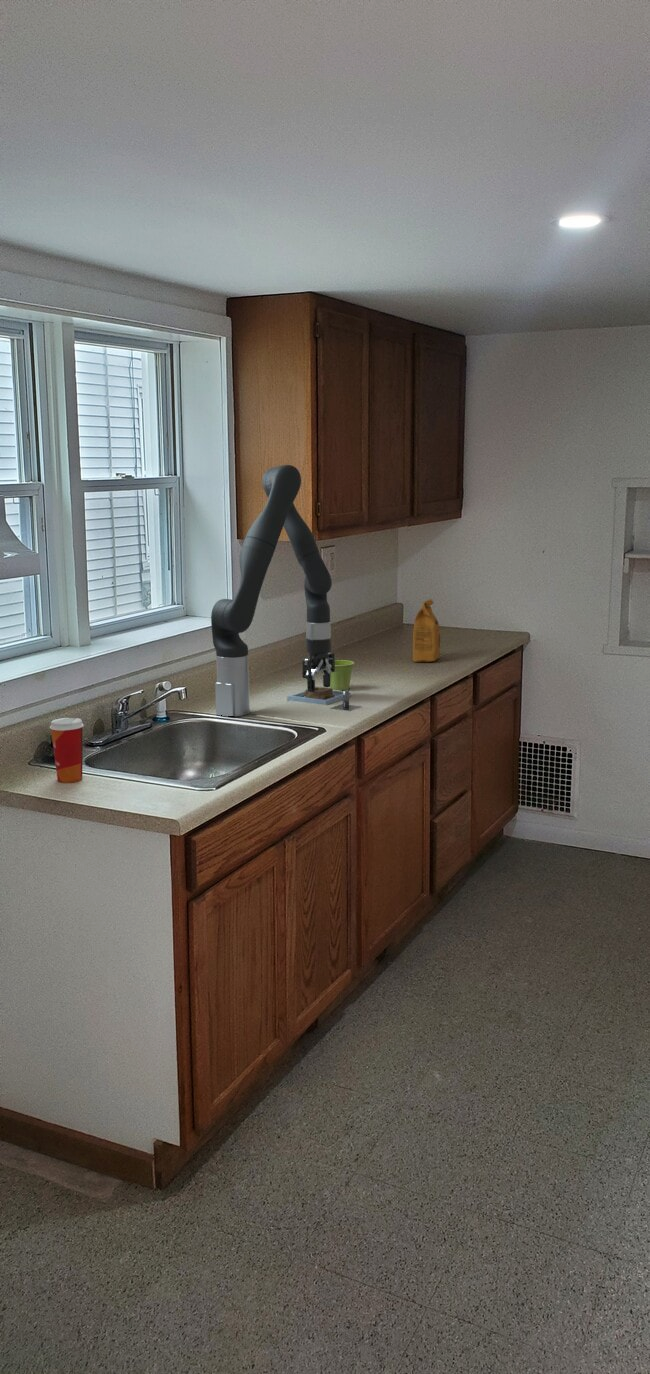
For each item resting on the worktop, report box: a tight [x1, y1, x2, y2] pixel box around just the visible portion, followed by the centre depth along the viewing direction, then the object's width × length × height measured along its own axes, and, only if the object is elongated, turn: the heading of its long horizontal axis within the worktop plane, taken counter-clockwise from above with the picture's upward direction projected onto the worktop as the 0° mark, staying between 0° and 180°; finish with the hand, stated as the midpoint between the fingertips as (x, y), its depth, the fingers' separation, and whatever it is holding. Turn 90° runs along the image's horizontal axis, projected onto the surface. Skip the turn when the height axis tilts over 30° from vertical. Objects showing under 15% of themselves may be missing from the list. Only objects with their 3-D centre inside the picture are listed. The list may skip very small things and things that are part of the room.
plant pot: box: [329, 659, 355, 691], centre depth 353 cm, size 9×9×9 cm
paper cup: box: [49, 717, 85, 784], centre depth 254 cm, size 8×8×14 cm
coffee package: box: [412, 598, 441, 663], centre depth 401 cm, size 10×12×22 cm
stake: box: [329, 689, 363, 712], centre depth 323 cm, size 7×7×6 cm
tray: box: [286, 690, 352, 706], centre depth 336 cm, size 14×14×2 cm
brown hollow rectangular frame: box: [304, 686, 336, 700], centre depth 336 cm, size 8×6×3 cm
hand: (319, 689), depth 336 cm, fingers open, 8 cm apart
